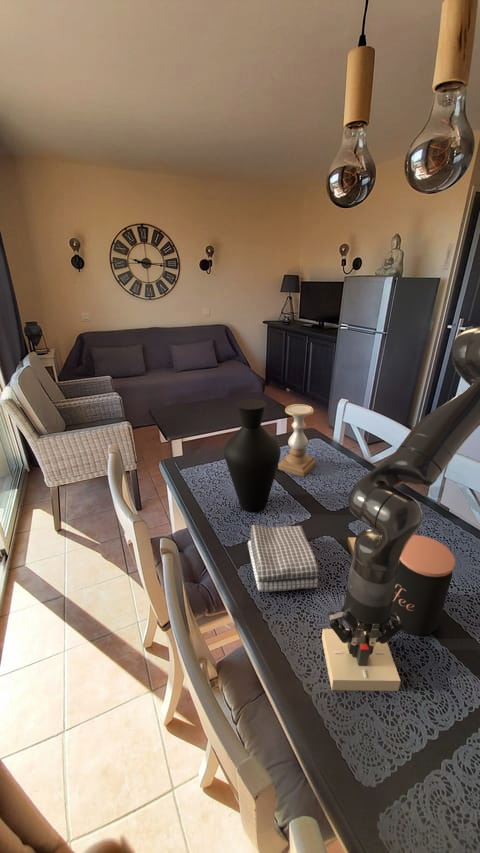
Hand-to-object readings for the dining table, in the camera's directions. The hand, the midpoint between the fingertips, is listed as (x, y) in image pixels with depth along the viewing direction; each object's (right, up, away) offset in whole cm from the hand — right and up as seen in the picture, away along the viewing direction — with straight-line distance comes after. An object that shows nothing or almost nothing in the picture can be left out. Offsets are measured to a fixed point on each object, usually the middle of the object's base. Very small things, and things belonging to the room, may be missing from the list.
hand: (359, 652), depth 69 cm
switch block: (+13, +9, +26) cm, 31 cm away
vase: (-18, +17, +49) cm, 55 cm away
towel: (-12, +7, +25) cm, 28 cm away
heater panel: (0, -3, +1) cm, 3 cm away
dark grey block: (0, 0, 0) cm, 0 cm away
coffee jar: (+15, +1, +10) cm, 18 cm away
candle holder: (-1, +27, +70) cm, 75 cm away
